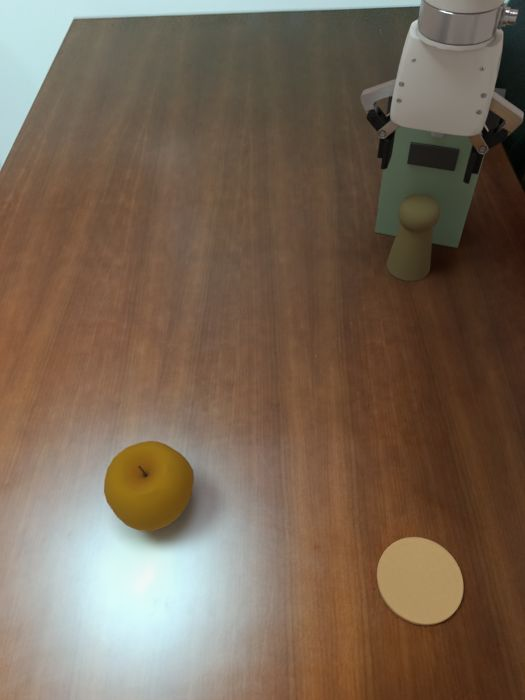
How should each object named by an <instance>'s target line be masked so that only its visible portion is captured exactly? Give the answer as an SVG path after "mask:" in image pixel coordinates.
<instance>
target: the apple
mask: <svg viewBox="0 0 525 700" xmlns="http://www.w3.org/2000/svg"><path fill="white" fill-rule="evenodd" d="M194 478H195V476H194V469H193V467H192V465H191V463H190V462H189V460H188V459H187V458H186V457H185V456H184V455H183V454H182V453H180V451H177V450H176V449H175V448H173V447H172V446H169V445H168V444H166V443H163V442H160V441H158V440H157V441H156V440H147V441H140V442H137V443H134V444H132V445H130V446H127V447H125V448H124V449H122V450H121V451H119V452H118V453H117V454H116V455H115V456H114V457H113V458H112V460H111V461H110V463H109V465H108V467H107V469H106V473H105V476H104V481H103V482H104V483H103V493H104V497H105V500H106V503H107V504H108V506H109V507H110V509H111V510H112V512H113V513H114V515H115V516H116V518H117V519H119V521H121V522H122V523H123V524H124V525H126V526H127V527H129V528H131V529H133V530H136V531H141V532H154V531H157V530H160V529H163V528H165V527H167V526H170V525H171V524H172V523H174V522H175V521H176V520H177V519H178V518H179V517H180V516H181V515H182V514H183V512H184V510H185V509H186V508H187V506H188V504H189V502H190V500H191V497H192V494H193V493H192V492H193V488H194V480H195V479H194Z"/></svg>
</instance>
